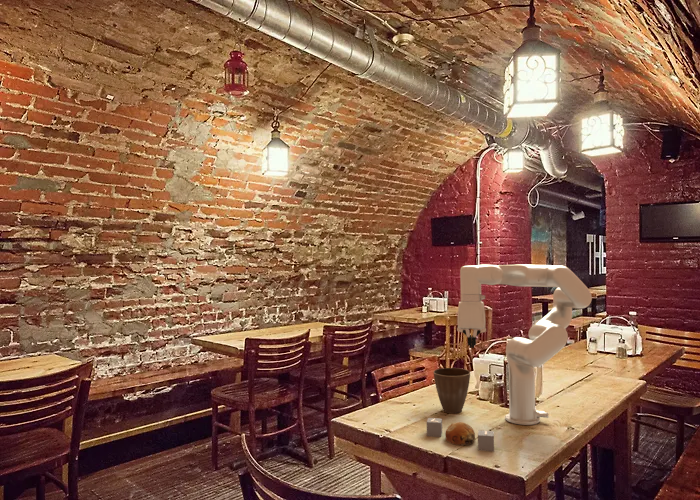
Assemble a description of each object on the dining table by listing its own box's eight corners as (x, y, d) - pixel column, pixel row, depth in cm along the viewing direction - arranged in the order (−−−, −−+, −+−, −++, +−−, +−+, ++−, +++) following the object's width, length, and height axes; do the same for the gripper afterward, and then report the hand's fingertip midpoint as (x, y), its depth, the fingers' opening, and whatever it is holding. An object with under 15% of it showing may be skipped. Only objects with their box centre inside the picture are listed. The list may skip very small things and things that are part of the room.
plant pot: (471, 417, 208) (470, 376, 208) (433, 415, 211) (432, 375, 211) (470, 406, 223) (469, 368, 223) (434, 405, 226) (434, 367, 226)
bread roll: (472, 447, 186) (469, 423, 189) (479, 444, 176) (476, 419, 180) (444, 448, 185) (442, 424, 189) (450, 445, 176) (447, 420, 179)
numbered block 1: (494, 446, 177) (493, 430, 177) (494, 451, 172) (493, 435, 172) (478, 445, 178) (478, 429, 178) (478, 450, 173) (477, 434, 173)
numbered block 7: (442, 432, 191) (442, 418, 191) (441, 437, 186) (440, 422, 186) (428, 431, 192) (428, 417, 192) (426, 436, 187) (426, 421, 187)
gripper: (491, 297, 200) (492, 346, 200) (451, 297, 204) (452, 345, 204) (491, 299, 193) (492, 349, 193) (449, 299, 197) (450, 348, 197)
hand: (471, 347), depth 199 cm, fingers closed
